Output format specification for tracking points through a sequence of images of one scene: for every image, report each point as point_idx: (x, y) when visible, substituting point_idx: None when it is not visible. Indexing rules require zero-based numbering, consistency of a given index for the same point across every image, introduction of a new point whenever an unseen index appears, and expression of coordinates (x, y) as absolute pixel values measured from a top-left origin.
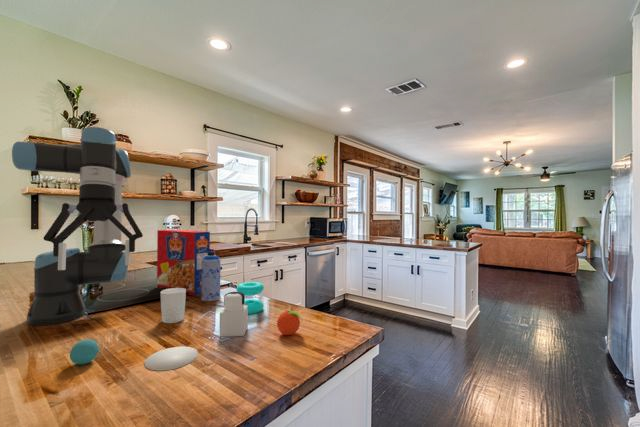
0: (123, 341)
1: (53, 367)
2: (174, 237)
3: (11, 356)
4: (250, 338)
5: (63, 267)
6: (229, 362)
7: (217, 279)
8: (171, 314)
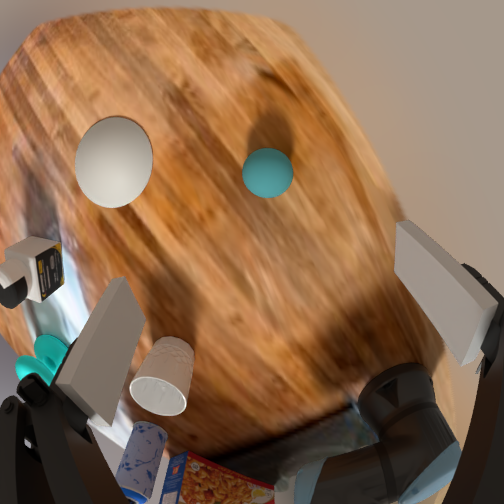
0: (232, 263)
1: (317, 168)
2: None
3: None
4: (22, 224)
5: (401, 252)
6: (36, 139)
7: (124, 452)
8: (164, 346)
